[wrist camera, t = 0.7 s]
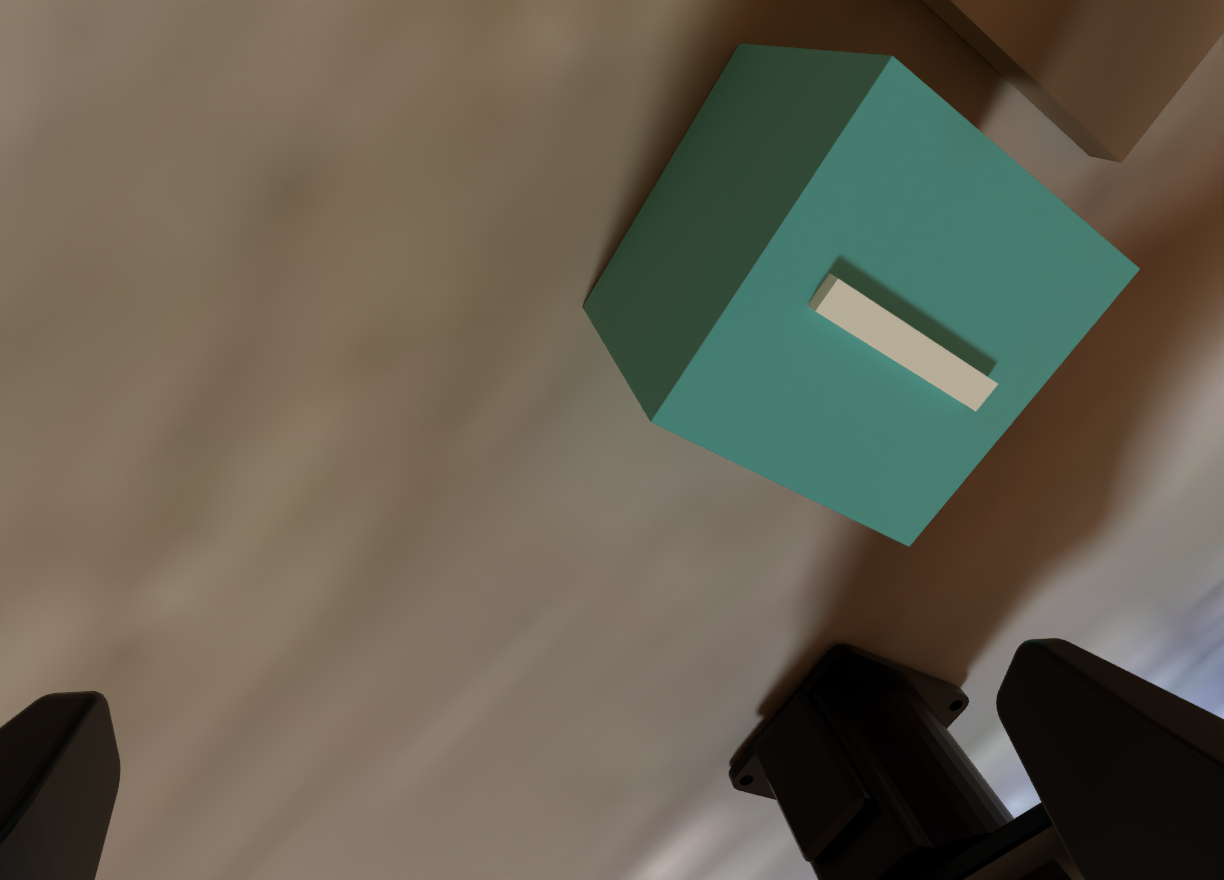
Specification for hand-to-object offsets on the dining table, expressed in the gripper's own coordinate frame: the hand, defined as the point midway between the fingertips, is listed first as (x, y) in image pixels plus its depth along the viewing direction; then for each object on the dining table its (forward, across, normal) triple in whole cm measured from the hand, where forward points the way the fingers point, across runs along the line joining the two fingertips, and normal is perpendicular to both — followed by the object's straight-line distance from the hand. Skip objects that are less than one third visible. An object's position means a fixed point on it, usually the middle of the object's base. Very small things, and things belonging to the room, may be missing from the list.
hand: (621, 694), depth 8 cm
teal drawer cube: (+12, -6, -2) cm, 13 cm away
